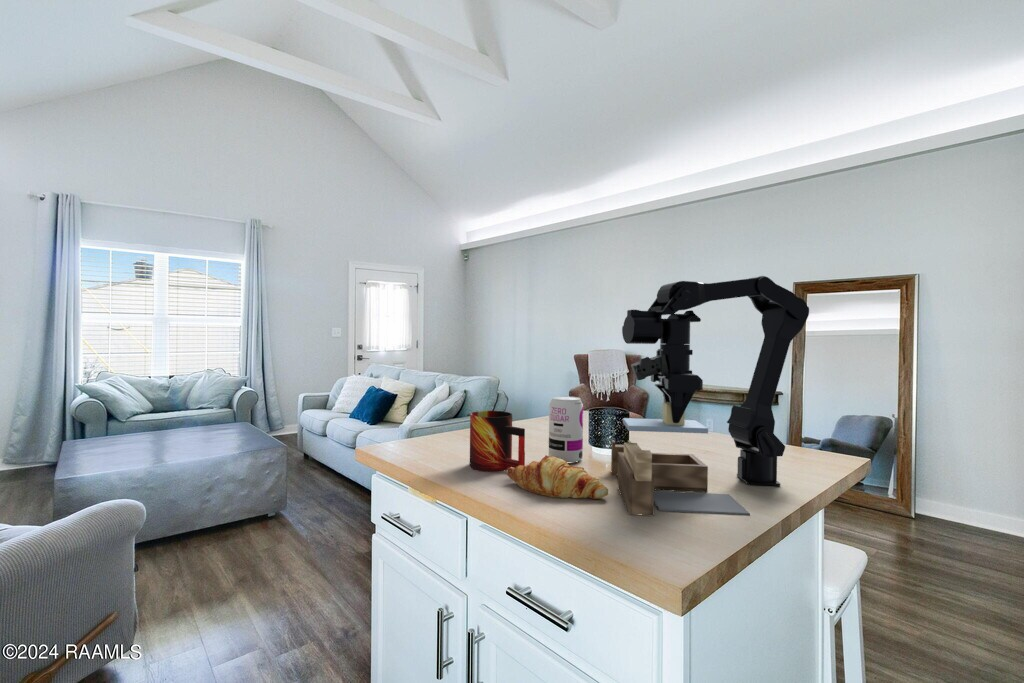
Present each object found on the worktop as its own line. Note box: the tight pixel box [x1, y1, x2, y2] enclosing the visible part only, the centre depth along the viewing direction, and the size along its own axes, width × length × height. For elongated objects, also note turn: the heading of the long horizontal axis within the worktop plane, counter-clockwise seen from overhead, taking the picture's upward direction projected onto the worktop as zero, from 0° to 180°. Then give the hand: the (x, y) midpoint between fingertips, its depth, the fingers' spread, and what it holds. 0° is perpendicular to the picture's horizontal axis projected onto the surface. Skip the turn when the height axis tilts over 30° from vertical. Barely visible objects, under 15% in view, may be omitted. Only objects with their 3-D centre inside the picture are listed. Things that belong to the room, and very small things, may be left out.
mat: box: [654, 490, 751, 516], centre depth 87 cm, size 15×10×1 cm, turn 85°
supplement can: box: [548, 395, 584, 462], centre depth 116 cm, size 8×8×15 cm
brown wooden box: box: [610, 439, 709, 516], centre depth 93 cm, size 17×26×7 cm, turn 175°
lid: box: [622, 401, 709, 434], centre depth 98 cm, size 15×9×5 cm, turn 84°
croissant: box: [506, 455, 609, 500], centre depth 93 cm, size 21×10×8 cm, turn 62°
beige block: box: [623, 442, 653, 481], centre depth 86 cm, size 2×15×5 cm, turn 175°
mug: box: [469, 410, 526, 473], centre depth 109 cm, size 10×14×12 cm
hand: (673, 421), depth 97 cm, fingers closed on lid, 3 cm apart
